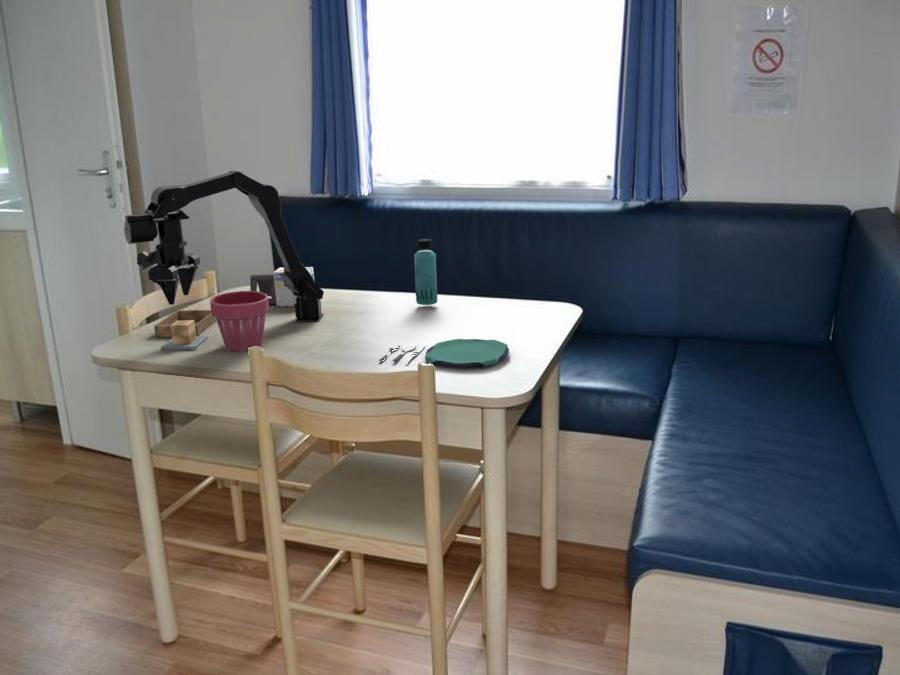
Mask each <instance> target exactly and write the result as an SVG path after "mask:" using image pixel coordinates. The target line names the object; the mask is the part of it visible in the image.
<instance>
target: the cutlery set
mask: <svg viewBox="0 0 900 675" xmlns="http://www.w3.org/2000/svg"><path fill="white" fill-rule="evenodd" d="M508 346H509V344H507V343H505V342H503V341H500V340H498V339H497V340H496V339H478V338H477V339H476V338H471V339H470V338H467V339H465V338H464V339H463V338H456V339H454V338H453V339H449V340H445V341H440V342H437V343H435V344H434V345H432V346H431V347H429V348H428V349H427V350H426V352H425V356H424V359H425V362H426V363H427V364H428V363H432V364H433V363H437V364H441V365H444V366H445V365H446V366H454V367H468V366H469V367H473V366H481V365H484V366H485V367H488V366H491V365H495V364H497V363H498V362H499V361H500V360H502V359H504V358H506V357H507V356H508V355H509V352H510V351H509V350H510V348H509V347H508ZM395 349H398V348H395ZM392 350H394V349H393V348H392V347H389V351H388V352H392ZM398 350H399V349H398ZM392 353H393V352H392ZM413 353H418V352H417V351H414V352H413ZM413 353H412V354H411V356H412V355H416V354H413ZM401 355H402V354H401V353H400V354H398V355H396V357H394V358H393V359H392V362H393V361H394V362H396V361H397V360H398V359H399V358H400V359H401V357H402V356H401ZM387 356H388V355H386V354H385V355H384V356H382V357H381V358H379V359H378V362H379V361H382V360H384V358H386V357H387ZM400 359H399V360H400ZM399 360H398V361H399ZM384 361H385V360H384ZM398 361H397V362H398ZM397 362H396V363H397Z"/></svg>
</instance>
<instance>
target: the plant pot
mask: <svg viewBox="0 0 900 675" xmlns="http://www.w3.org/2000/svg"><path fill="white" fill-rule="evenodd" d="M268 298H269V296H267V295H266V294H265V293H262V292H260V291H258V290H257V291H250V290H238V291H231V292H230V291H229V292H224V293H220V294H217V295H214V296H212V297H211V298H210V304H209V305H210V310H211V314H212V315H213V316H214V317H216V320H217V322H216V324H217V326H218V329H219V331H220V335H221V338H222V340H223V343H224V347H225V348H227V350H228V351H231V350H234V351H233V352H248V351H249V350H248V348H249V347H253V346H260V347H262V345H263V339H264V333H265V332H264V331H265V323H266V316H267V313H268V312H269V310H270V305H269V302H268ZM242 350H243V351H242ZM244 350H245V351H244ZM247 350H248V351H247Z"/></svg>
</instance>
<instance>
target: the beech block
mask: <svg viewBox="0 0 900 675" xmlns="http://www.w3.org/2000/svg"><path fill="white" fill-rule="evenodd" d="M195 322H196V321H194V320H177V321H176V322H174V323H173V324H172V325H171V333H172V337H171V339H172V340H173V344H191V343H192V342H193V341H195V340H196V339H197V338H196V330H195V324H196V323H195Z"/></svg>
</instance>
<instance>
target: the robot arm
mask: <svg viewBox="0 0 900 675" xmlns="http://www.w3.org/2000/svg"><path fill="white" fill-rule="evenodd" d="M233 189H236V190H237V191H239V192H240V193H241V194H243V195H245V196H246V197H248V199H249V201H250V203H251V204H252V206H253V207H254V209H255V211H257V213H258V214H260V216H261V217H262V219H263V220H264V222H265V225H266V226H267V229H268V232H269V234H270V236H271V239H272V241H273V244H274V245H275V248H276V250H277V253H278V255H279V257H280V260H281V262H282V265H283V268H284V272H283V273H280V276H281V278H282V279H283V282H284V286H285V287H287V288H288V289H289V290H291V291H292V292H293V294H294V296H297V298H296V303H295V304H294V305H295V306H294V313H295V314H294V315H295V322H319V321H320V320H321V319H322V318H323V317H324V313H323V312H322V303H321V302H322V301H321V300H322V299H323V298H324V293H325V292H324V290H323V289H322V288H320V286H318V285H316V282H315V278H314V279H313V278H312V276H311V275H310V273H309V271H308V270H307V269H306V268H305V267H306V266H304V264H303V263H302V262H301V260H300V258H299V256H298V253H297V251H296V249H295V246H294V243H293V241H292V238H291V237H290V235H289V232H288V229H287V226H286V224H285V221H284V219H283V217H282V215H281V214H282V213H281V212H282V208H281V207H282V206H281V205H282V204H281V199H280V195H279V192H278V190H277V188H276V187H274V186H273V185H271V184H270V185H269V184H265V183H261V182H259V181H257V180H255V179H253V178H251V177H249V176H247V175H246V174H244V173H243V172H242V171H238V170H229V171H228V172H226V173H222V174H220V175H215V176H212V177H208V178H206V179H201V180H199V181H195V182H191V183H188V184H182V185H181V184H179V185H167V186H165V185H164V186H159V187H156V188H155V189H153V190H152V193H151V195H150V202H149V203H148V205H147V208H146V209H145V211H144V213H143V214H133V215H132V214H128V215H127V214H126V215H125V216H124V220H125V221H124V227H123V232H124V233H123V234H124V237H125V239H126V242H127V243H128V245H133V244H140V243H141V244H142V243H149V242H153V241H155V239H156V238H157V237H158V241H159V242H158V243H157V244H156V245H155V250H153V251H150V252H148V251H145V250H144V251H142V252H139V253H137V254H136V261H137V262H136V264H137V266H140V267H141V269H143V270H146V269H148V268H149V267H150V269H149V270H148V271H147V279H148V281H151V282H152V283H155V284H157V285H158V286H159V287H160V288H161V290H162V293H163V294H164V296H165V299H166V301H167V303H168V304H169V305H170V306H174V304H175V302H176V296H177V291H178V285H179V282H180V287H181V290H182V294H183V296H189V294H190V290H191V288H192V285H193V281H194V280H195V279H194V278H195V276H196V272H197V271H198V269H199V265H201V260H200V256H199V255H198V254H197V253H186V250H185V249H186V248H185V246H187V245H188V241H187V240H184V236H183V235H184V234H183V227H182V220H189V219H190V216H189V215H188V214H186V213H185V212H184V210H183V209H182V208H184V207H186V206H188V205H189V204H191V203H192V202H194V201H196V200H199V199H202V198H205V197H209V196H213V195H216V194H219V193H223V192H225V191H226V192H227V191H230V190H233ZM151 266H153V267H151Z"/></svg>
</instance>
